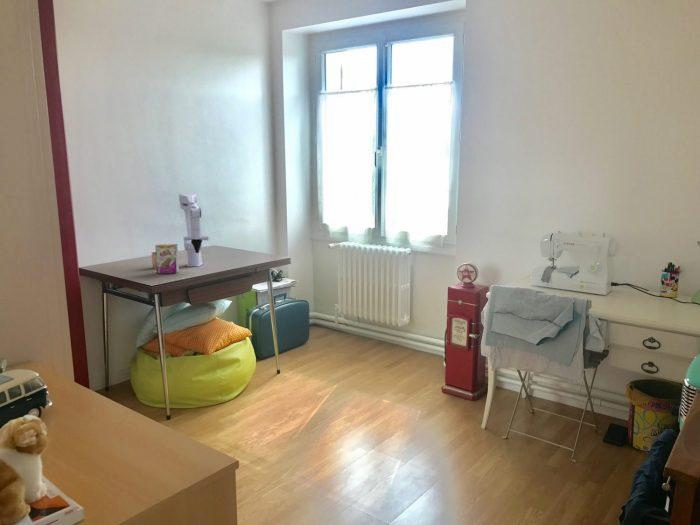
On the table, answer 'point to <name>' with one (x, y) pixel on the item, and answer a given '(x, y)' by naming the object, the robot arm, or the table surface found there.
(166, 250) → the candy bar box
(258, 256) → the table surface
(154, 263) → the terracotta pencil cup
